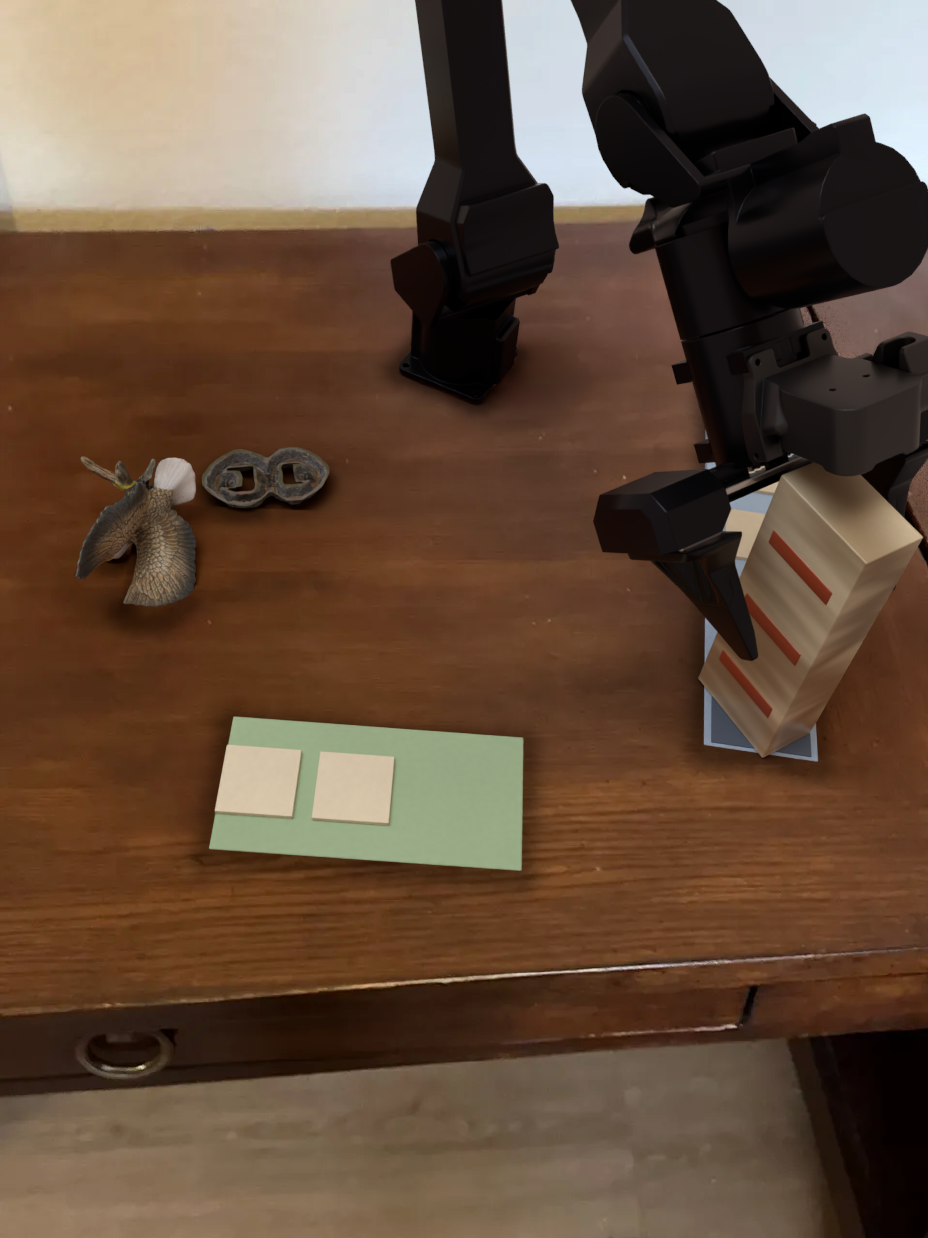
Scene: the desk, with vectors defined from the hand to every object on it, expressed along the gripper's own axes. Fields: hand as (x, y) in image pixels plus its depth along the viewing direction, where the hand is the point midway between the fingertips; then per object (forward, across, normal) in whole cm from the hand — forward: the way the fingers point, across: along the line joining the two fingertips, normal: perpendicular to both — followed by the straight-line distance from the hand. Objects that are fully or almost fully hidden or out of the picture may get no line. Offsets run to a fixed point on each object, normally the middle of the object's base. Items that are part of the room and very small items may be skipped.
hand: (819, 624), depth 61 cm
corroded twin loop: (-14, -17, +28) cm, 36 cm away
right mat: (-2, +10, +16) cm, 19 cm away
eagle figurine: (-12, -26, +27) cm, 39 cm away
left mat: (+2, -22, +12) cm, 25 cm away
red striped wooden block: (+6, 0, +7) cm, 9 cm away
